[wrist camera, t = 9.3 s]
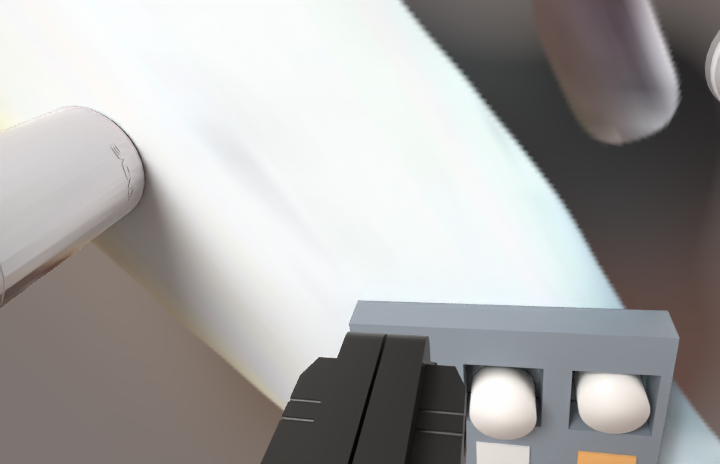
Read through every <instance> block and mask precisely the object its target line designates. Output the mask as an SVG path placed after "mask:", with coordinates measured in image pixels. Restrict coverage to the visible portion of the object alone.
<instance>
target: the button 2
mask: <svg viewBox="0 0 720 464" xmlns="http://www.w3.org/2000/svg"><path fill="white" fill-rule="evenodd" d="M574 383H575V390H576V396H577V403H578V410H579V414H580V417H581V418H582V420H583V421H584V422H585V423H586V424H587V425H588V426H589V427H591V428H593V429H595V430H597V431H600V432H603V433H609V434H622V433H627V432H631V431H633V430H636V429H637V428H639V427H641V426H642V425H643V424H644V423H645V422H646V421H647V419H648V417H649V415H650V405H649V402H648V398H647V395H646V392H645V388H644V385H643V382H642V379H641V375H637V374H620V373H603V372H586V371H576V372H575V376H574Z"/></svg>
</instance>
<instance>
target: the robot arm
mask: <svg viewBox="0 0 720 464" xmlns="http://www.w3.org/2000/svg"><path fill="white" fill-rule="evenodd" d="M143 190H144V171H143V166H142V162H141V160H140V157H139V155H138V152H137V150H136V149H135V147H134V145H133V144H132V142H131V141H130V139H129V138H128V137H127V136H126V134H125V133H124V132H123V131H122V130H121V129H120V128H119V127H118V126H117V125H116V124H115V123H113V122H112V121H111V120H110V119H108V118H106V117H105V116H103V115H102V114H100V113H98V112H95V111H93V110H90V109H87V108H83V107H76V106H71V107H63V108H60V109H57V110H54V111H52V112H49V113H47V114H44V115H42V116H39V117H37V118H34V119H31V120H29V121H26V122H24V123H21V124H18V125H16V126H13V127H11V128H8V129H6V130H3V131H1V132H0V308H2V307H3V306H4V305H5V304H7V303H8V302H10V301H11V300H12V299H14V298H15V297H16V296H18V295H19V294H20V293H22V292H23V291H25V290H26V289H27V288H29V287H30V286H31V285H33V284H34V283H35V282H37V281H38V280H39V279H40V278H42V277H43V276H45V275H46V274H47V273H48V272H50V271H51V270H53V269H54V268H55V267H57V266H58V265H59V264H61V263H62V262H63V261H65V260H66V259H67V258H69V257H70V256H71V255H73V254H74V253H75V252H77V251H78V250H79V249H80V248H82V247H83V246H85V245H86V244H88V243H89V242H90V241H92V240H93V239H94V238H96V237H97V236H98V235H100V234H101V233H103V232H104V231H105V230H107V229H108V228H109V227H111V226H112V225H113V224H115V223H116V222H117V221H119V220H120V219H121V218H123V217H124V216H125V215H127V214H128V213H129V212H131V211H132V210H133V209H134V208H135V207H136V206H137V204H138V203H139V201H140V199H141V197H142V194H143ZM466 454H467V432H466V387H465V385H464V383H463V381H462V379H461V377H460V375H459V373H458V371H457V369H456V367H455V366H444V365H431V359H430V342H429V337H428V336H422V335H404V334H389V335H387V334H383V333H365V332H348V333H347V334H346V336H345V338H344V341H343V344H342V346H341V349H340V352H339V354H338V357H337V358H324V357H319V358H318V359H317V360H316V361H315V362H314V363H313V364H311V365H310V366H309V367H308V368H307V369H306V370H305V371H304V372H303V373H302V374H301V375H300V377H299V379H298V381H297V384H296V386H295V388H294V390H293V393H292V395H291V397H290V402H288V404H287V406H286V408H285V410H284V413H283V415H282V420H281V421H280V422H279V424H278V426H277V428H276V431H275V433H274V435H273V437H272V440H271V442H270V444H269V446H268V449H267V451H266V453H265V455H264V457H263V460H262V462H261V464H466Z"/></svg>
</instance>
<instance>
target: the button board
mask: <svg viewBox="0 0 720 464" xmlns="http://www.w3.org/2000/svg"><path fill="white" fill-rule="evenodd" d="M349 326H350V332H365V333H383V334H387V335H389V334H404V335H422V336H428V337H429V342H430V359H431V362H435V363H437V365H444V366H455V367H456V369H457V371H458V373H459V375H460V377H461V379H462V381H463V383H464V385H465V387H466V432H467V454H466V464H658V459H659V453H660V447H661V442H662V436H663V430H664V424H665V419H666V413H667V407H668V402H669V396H670V390H671V384H672V379H673V373H674V367H675V362H676V356H677V350H678V344H679V339H680V338H679V336H678V333H677V331H676V329H675V326H674V324H673V321H672V319H671V317H670V315H669V312H668V311H656V310H626V309H596V308H566V307H536V306H506V305H475V304H445V303H415V302H385V301H358V302H357V305H356V307H355V310H354V312H353V315H352V317H351V320H350V323H349ZM466 364H469V365H486V366H502V367H519V368H536V369H540V391H539V398H535V402H536V417H537V420H536V424H535V426H534V428H533V429H532V431H531V432H530V433H528V434H527V435H525V436H523V437H521V438H518V439H513V440H501V439H495V438H492V437H489V436H487V435H485V434H483V433H482V432H480V431H479V430H478V429H477V428H476V427H475V426H474V425H473V423H472V421H471V419H470V414H469V413H470V399H471V394H470V393H467V366H466ZM572 371H586V372H603V373H620V374H637V375H647V380H646V386H645V392H646V395H647V398H648V402H649V405H650V415H649V417H648V419H647V421H646V422H645V423H644V424H643V425H642V426H641V427H639V428H637V429H636V430H633V431H631V432H627V433H622V434H609V433H603V432H600V431H597V430H595V429H593V428H591V427H589V426H588V425H587V424H586V423H585V422H584V421H583V420H582V418H581V417H580V414H579V410H578V403H577V401H570V398H571V384H572Z"/></svg>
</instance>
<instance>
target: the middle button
mask: <svg viewBox="0 0 720 464" xmlns="http://www.w3.org/2000/svg"><path fill="white" fill-rule="evenodd" d="M469 414H470V419H471V421H472V423H473V425H474V426H475V427H476V428H477V429H478V430H479V431H480V432H482V433H483V434H485V435H487V436H489V437H492V438H495V439H501V440H513V439H518V438H521V437H523V436H525V435H527V434H528V433H530V432H531V431H532V429H533V428H534V426H535V424H536V420H537V417H536V402H535V386H534V382H533V380H532V378H531V376H530V375H529V374H528V373H527V372H526V371H525V370H523V369H522V368H519V367H502V366H484V367H482V368H480V369H479V370H478V371H477V372H476V373H475V375H474V376H473V379H472V385H471V399H470V413H469Z"/></svg>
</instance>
